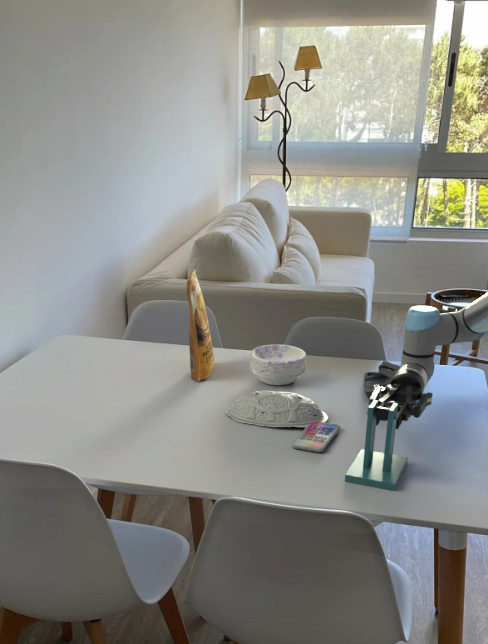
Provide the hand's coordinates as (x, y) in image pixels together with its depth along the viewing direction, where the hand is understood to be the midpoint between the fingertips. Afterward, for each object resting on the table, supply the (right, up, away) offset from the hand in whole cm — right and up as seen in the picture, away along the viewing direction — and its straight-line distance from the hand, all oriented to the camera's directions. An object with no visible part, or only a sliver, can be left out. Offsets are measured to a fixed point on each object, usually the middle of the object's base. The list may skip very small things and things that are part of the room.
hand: (386, 421), depth 145 cm
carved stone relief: (-21, +2, +27) cm, 34 cm away
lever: (0, 0, 0) cm, 0 cm away
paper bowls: (-20, +13, +50) cm, 55 cm away
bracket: (-2, -11, 0) cm, 11 cm away
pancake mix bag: (-41, +16, +55) cm, 71 cm away
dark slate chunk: (+10, +10, +43) cm, 45 cm away
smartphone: (-13, -3, +15) cm, 20 cm away
